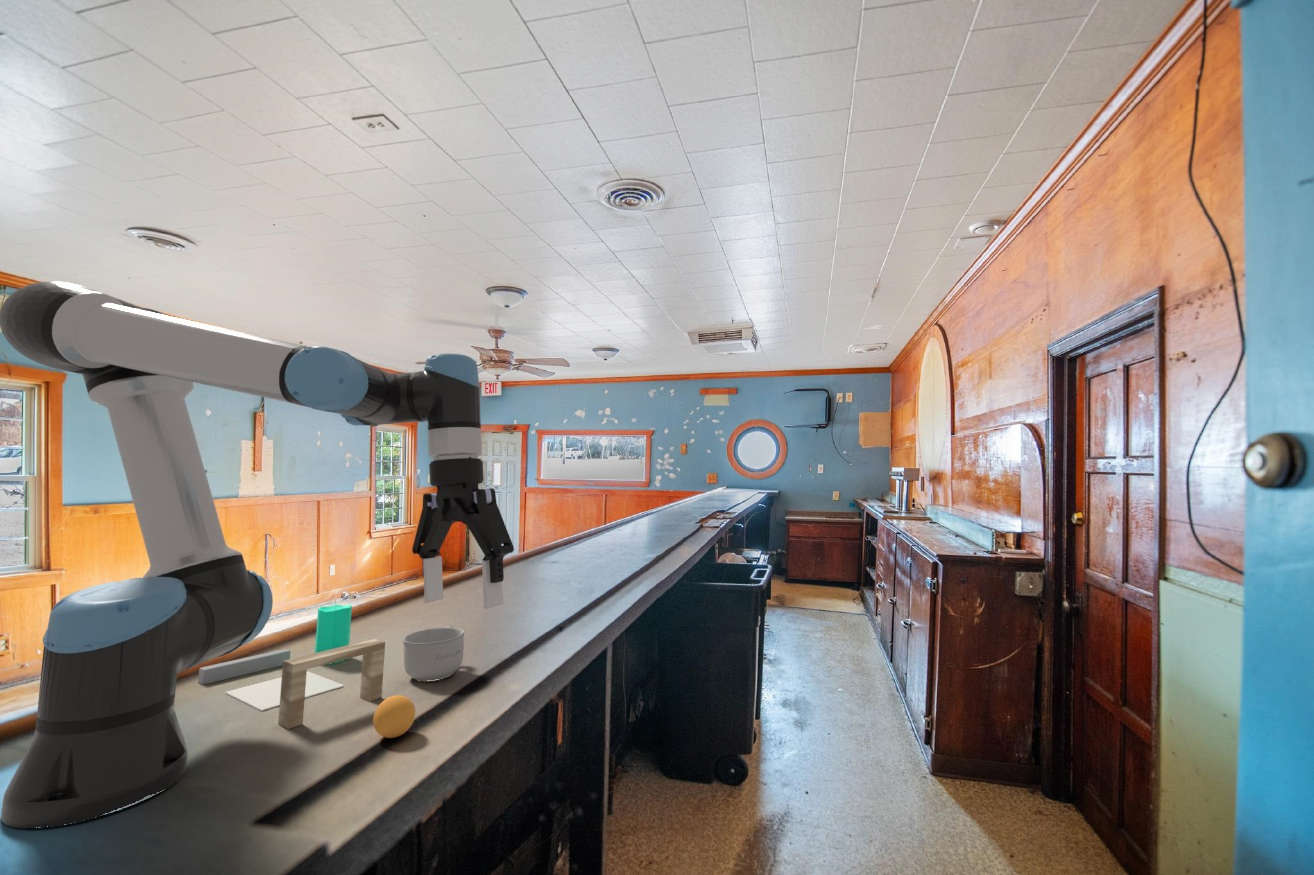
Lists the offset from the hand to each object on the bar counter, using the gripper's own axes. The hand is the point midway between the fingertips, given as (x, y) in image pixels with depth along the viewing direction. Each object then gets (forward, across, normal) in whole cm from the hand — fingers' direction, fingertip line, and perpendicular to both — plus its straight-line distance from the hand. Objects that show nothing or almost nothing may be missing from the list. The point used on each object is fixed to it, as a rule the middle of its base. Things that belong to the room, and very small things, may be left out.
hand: (462, 603), depth 80 cm
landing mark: (+16, +40, +7) cm, 44 cm away
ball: (+15, +9, +5) cm, 19 cm away
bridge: (+17, +26, +6) cm, 31 cm away
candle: (+16, +51, -6) cm, 54 cm away
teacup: (+18, +27, -14) cm, 35 cm away
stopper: (+14, +55, +7) cm, 58 cm away
